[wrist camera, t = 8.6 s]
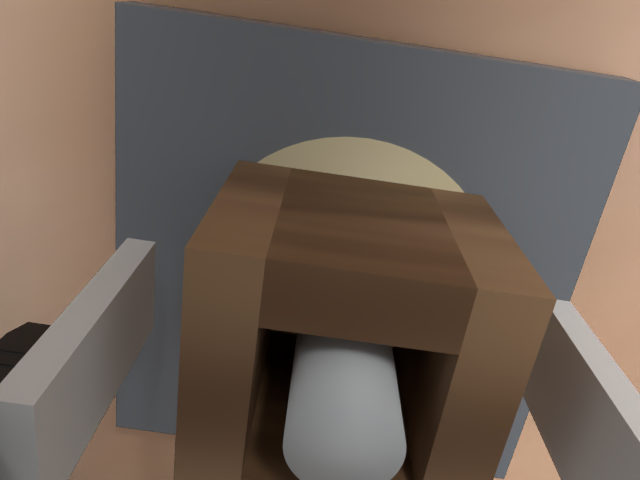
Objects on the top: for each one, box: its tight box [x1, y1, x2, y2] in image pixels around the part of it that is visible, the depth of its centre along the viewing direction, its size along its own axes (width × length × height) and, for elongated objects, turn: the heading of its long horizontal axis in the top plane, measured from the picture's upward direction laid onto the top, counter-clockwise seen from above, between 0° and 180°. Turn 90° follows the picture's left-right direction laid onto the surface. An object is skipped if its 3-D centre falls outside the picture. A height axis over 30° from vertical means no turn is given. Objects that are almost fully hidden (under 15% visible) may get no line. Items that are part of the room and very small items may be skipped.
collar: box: [174, 160, 557, 480], centre depth 15 cm, size 7×7×6 cm
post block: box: [115, 1, 640, 480], centre depth 15 cm, size 14×14×8 cm
